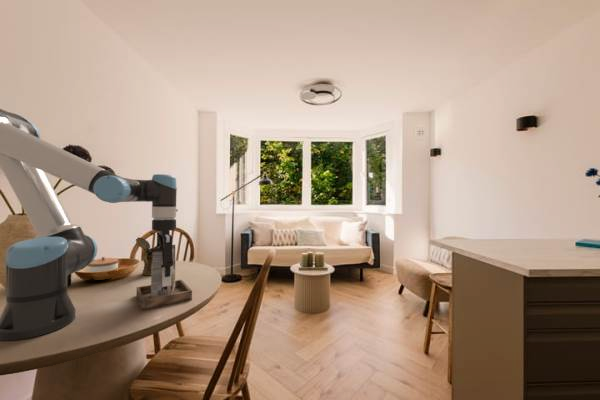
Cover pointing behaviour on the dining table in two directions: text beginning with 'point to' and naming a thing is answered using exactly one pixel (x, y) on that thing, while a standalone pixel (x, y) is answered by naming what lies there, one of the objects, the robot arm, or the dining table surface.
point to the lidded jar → (103, 264)
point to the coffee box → (160, 273)
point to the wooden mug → (145, 255)
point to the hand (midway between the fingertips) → (163, 281)
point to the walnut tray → (178, 295)
